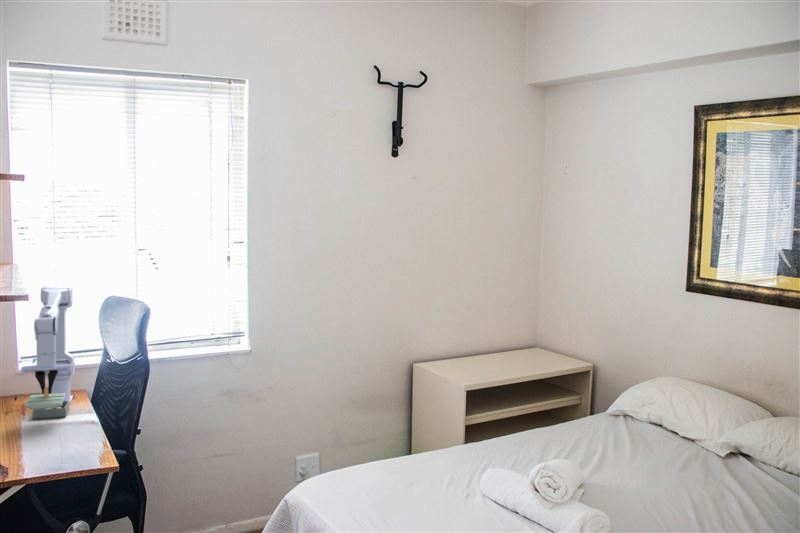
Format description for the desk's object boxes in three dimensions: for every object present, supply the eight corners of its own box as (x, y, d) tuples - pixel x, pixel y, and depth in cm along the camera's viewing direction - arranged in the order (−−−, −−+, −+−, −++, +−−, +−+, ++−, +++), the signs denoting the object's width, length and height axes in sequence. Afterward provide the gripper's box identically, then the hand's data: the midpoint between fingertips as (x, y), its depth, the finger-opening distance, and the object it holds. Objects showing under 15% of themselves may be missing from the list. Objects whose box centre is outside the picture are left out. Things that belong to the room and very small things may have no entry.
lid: (31, 400, 221) (30, 386, 221) (65, 397, 225) (65, 384, 224) (25, 410, 212) (24, 396, 211) (61, 408, 215) (60, 394, 215)
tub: (38, 411, 233) (38, 402, 232) (69, 409, 236) (69, 400, 236) (32, 419, 223) (32, 410, 223) (65, 417, 227) (65, 408, 226)
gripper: (19, 356, 213) (19, 397, 214) (69, 354, 218) (69, 394, 219) (23, 352, 220) (24, 392, 220) (71, 350, 225) (72, 389, 225)
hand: (46, 393), depth 220 cm, fingers closed on lid
